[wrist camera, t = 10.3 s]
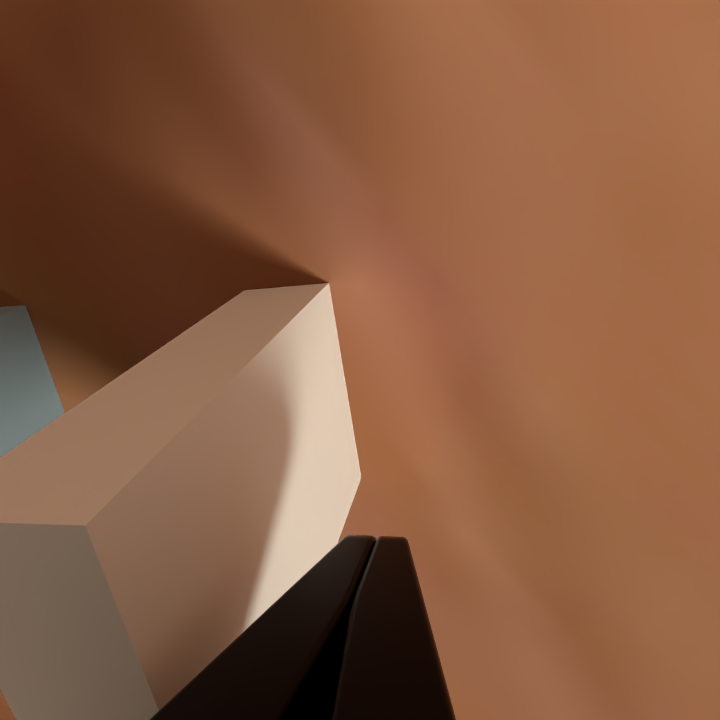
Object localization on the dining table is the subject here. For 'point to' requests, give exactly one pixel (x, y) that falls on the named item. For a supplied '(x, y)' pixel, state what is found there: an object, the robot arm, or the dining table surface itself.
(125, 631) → the domino
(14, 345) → the domino
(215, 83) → the dining table surface
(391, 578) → the robot arm
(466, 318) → the dining table surface
